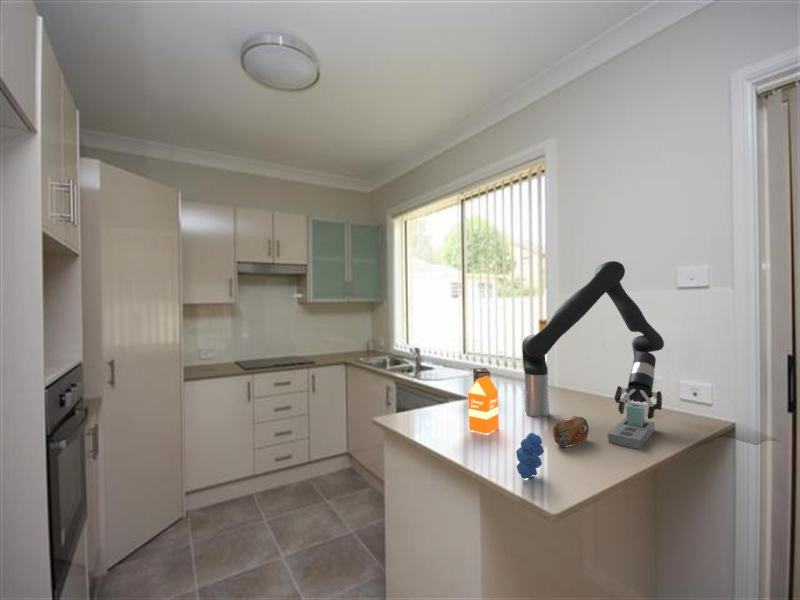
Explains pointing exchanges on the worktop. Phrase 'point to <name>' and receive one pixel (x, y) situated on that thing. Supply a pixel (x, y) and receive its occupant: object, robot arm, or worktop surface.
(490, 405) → the orange juice
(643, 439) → the power strip
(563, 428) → the tin
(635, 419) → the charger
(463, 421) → the worktop surface
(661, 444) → the worktop surface
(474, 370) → the coffee box
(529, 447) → the grapes
